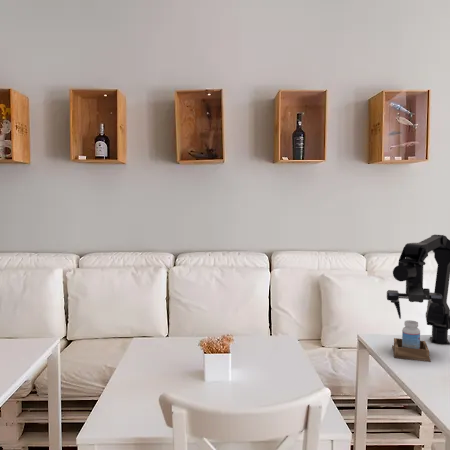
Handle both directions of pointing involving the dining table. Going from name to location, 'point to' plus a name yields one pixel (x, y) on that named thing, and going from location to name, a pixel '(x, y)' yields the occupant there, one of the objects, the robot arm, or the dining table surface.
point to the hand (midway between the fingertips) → (413, 319)
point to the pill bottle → (411, 335)
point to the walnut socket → (411, 351)
